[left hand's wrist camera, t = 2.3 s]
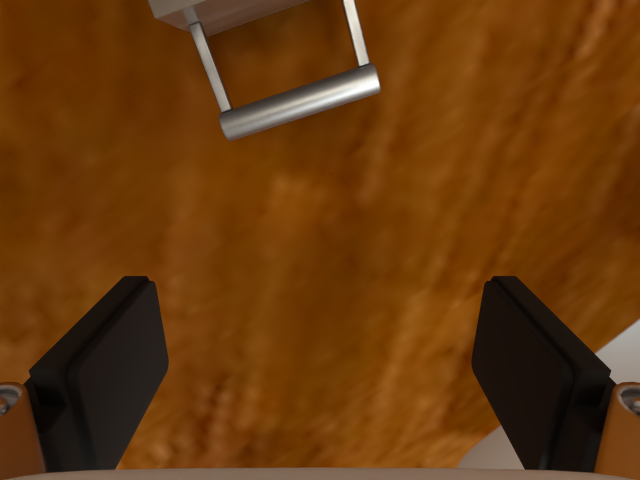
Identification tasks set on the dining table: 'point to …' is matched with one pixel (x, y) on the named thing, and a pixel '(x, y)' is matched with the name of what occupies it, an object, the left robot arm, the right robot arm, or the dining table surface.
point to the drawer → (240, 8)
